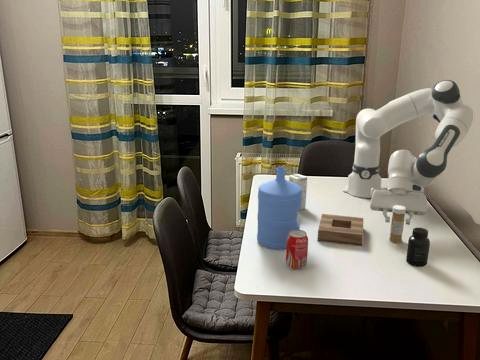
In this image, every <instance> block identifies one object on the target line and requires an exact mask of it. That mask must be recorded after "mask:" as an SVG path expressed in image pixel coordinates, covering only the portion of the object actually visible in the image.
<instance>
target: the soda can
mask: <svg viewBox="0 0 480 360" xmlns="http://www.w3.org/2000/svg"><path fill="white" fill-rule="evenodd" d="M308 253H309V238H308V235H307V232H306V231H305V230H302V229H300V230H291V231H290V232H289V235H288V236H287V242H286V250H285V265H286V266H287V267H288V268H289V269H291V270H295V271H299V270H302V269H305V268H306V267H307V264H308V263H307V262H308Z"/></svg>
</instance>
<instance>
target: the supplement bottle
mask: <svg viewBox="0 0 480 360" xmlns="http://www.w3.org/2000/svg"><path fill="white" fill-rule="evenodd" d="M407 241H408V243H407V250H406V257H405V260H406V263H407V264H409V266H412V267H416V268H423V267H426V266H427V265H428V261H429V260H428V259H429V255H430V254H429V253H430V248H431V247H430V246H431V240H430V238H429V230H428V229H427V228H424V227H414V228H413V229H412V234H411V235H410V236H409V237H408V240H407Z"/></svg>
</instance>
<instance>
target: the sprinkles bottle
mask: <svg viewBox="0 0 480 360" xmlns="http://www.w3.org/2000/svg"><path fill="white" fill-rule="evenodd" d="M392 211H393V212H392V214H391V215H392V216H391V221H390V222H391V223H390V224H391V225H390V231H389V232H390V233H389V241H390V242H392V243H394V244H395V243H396V244H399V243H402V238H403V233H404V224H405V217H406V216H405V215H406V214H405V213H406V208H405V207H404V206H401V205H395V206H393V210H392Z"/></svg>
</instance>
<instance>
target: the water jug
mask: <svg viewBox="0 0 480 360" xmlns="http://www.w3.org/2000/svg"><path fill="white" fill-rule="evenodd" d="M275 169H276V172H275V175H276V177H275V179H272V180H269V181H265V182H264V183H261V184H260V185H259V186H258V191H257V198H258V199H257V203H258V204H257V233H256V240H257V243H258V244H260V246H262V247H264V248H266V249H270V250H277V251H284V250H285V251H286V242H287V236H288V235H289V232H290V231H291V230H301V225H300V222H299V220H298V212H299V211H300V210H299V209H300V208H301V201H302V189H301V187H300V186H299V185H297V184H294V183H292V182H290V181H289V180H288V179H286V167H276V168H275Z"/></svg>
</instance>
